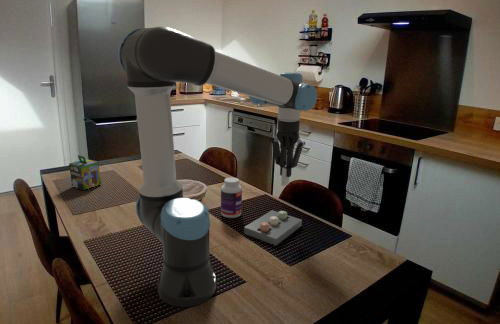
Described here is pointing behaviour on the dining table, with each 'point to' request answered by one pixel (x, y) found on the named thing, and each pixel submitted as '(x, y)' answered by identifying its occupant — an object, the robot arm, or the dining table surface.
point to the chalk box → (85, 173)
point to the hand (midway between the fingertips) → (285, 184)
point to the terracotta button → (264, 227)
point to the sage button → (282, 215)
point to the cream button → (274, 221)
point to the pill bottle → (231, 198)
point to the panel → (273, 228)
